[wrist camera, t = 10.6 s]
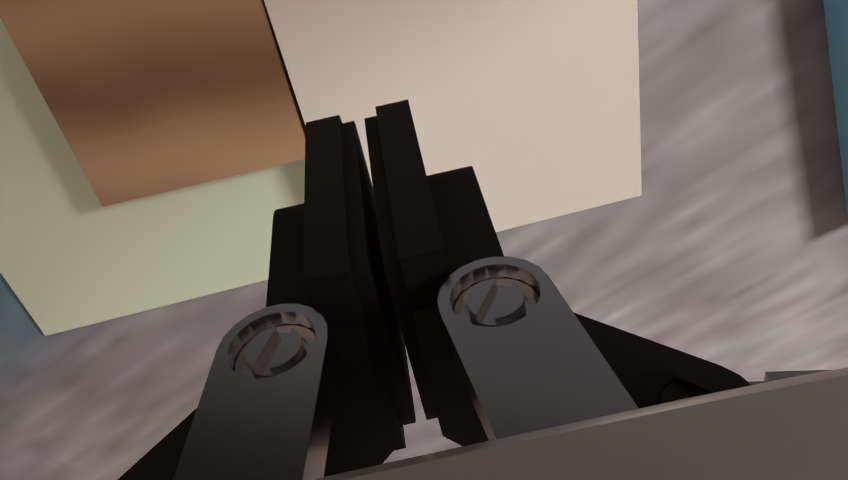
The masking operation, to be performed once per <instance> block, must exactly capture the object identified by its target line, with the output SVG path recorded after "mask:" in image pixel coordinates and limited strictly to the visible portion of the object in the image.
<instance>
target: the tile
mask: <svg viewBox="0 0 848 480" xmlns="http://www.w3.org/2000/svg"><path fill="white" fill-rule="evenodd" d="M0 18H1V20H2V22H3V24H4V26H5V27H6V29H7V31H8V33H9V35H10V37H11V39H12V40H13V42H14V44H15V46H16V48H17V50H18V51H19V53H20V55H21V57H22V59H23V61H24V63H25V64H26V66H27V68H28V70H29V72H30V74H31V76H32V77H33V79H34V81H35V83H36V85H37V87H38V88H39V90H40V92H41V94H42V96H43V98H44V100H45V101H46V103H47V105H48V107H49V109H50V111H51V112H52V114H53V116H54V118H55V120H56V122H57V124H58V125H59V127H60V129H61V131H62V133H63V135H64V137H65V138H66V140H67V142H68V144H69V146H70V148H71V149H72V151H73V153H74V155H75V157H76V159H77V161H78V162H79V164H80V166H81V168H82V170H83V172H84V174H85V175H86V177H87V179H88V181H89V183H90V185H91V186H92V188H93V190H94V192H95V194H96V196H97V198H98V199H99V201H100V203H101V205H102V207H104V206H109V205H113V204H117V203H121V202H125V201H130V200H134V199H138V198H142V197H146V196H151V195H155V194H159V193H163V192H168V191H172V190H176V189H180V188H184V187H189V186H193V185H197V184H201V183H205V182H210V181H214V180H218V179H222V178H227V177H231V176H235V175H239V174H243V173H248V172H252V171H256V170H260V169H264V168H269V167H273V166H277V165H281V164H286V163H290V162H294V161H298V160H302V159H305V123H304V120H303V117H302V114H301V111H300V108H299V105H298V102H297V99H296V96H295V93H294V90H293V87H292V84H291V81H290V78H289V75H288V71H287V68H286V65H285V62H284V59H283V56H282V53H281V50H280V47H279V44H278V41H277V38H276V35H275V32H274V29H273V26H272V23H271V20H270V17H269V14H268V11H267V8H266V5H265V2H264V0H0Z"/></svg>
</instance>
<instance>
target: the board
mask: <svg viewBox="0 0 848 480" xmlns="http://www.w3.org/2000/svg"><path fill="white" fill-rule="evenodd" d="M264 2H265V5H266V8H267V11H268V14H269V17H270V20H271V23H272V26H273V29H274V32H275V35H276V38H277V41H278V44H279V47H280V50H281V53H282V56H283V59H284V62H285V65H286V68H287V71H288V75H289V78H290V81H291V84H292V87H293V90H294V93H295V96H296V99H297V102H298V105H299V108H300V111H301V114H302V117H303V120H304V123H305V125H306V122H310V121H314V120H319V119H323V118H328V117H332V116H336V115H339V116H340V117H341V120H342V123H346V122H351V121H354V122H355V124H356V128H357V131H358V135H359V138H360V142H361V146H362V150H363V153H364V157H365V161H366V164H367V168H368V172H369V175H370V179H371V183H372V177H371V169H370V161H369V153H368V145H367V137H366V129H365V121H364V118H369V117H373V116H377V115H376V109H375V107H376V106H381V105H385V104H390V103H394V102H399V101H403V100H407V99H408V102H409V106H410V110H411V114H412V118H413V122H414V126H415V130H416V134H417V139H418V143H419V147H420V151H421V155H422V159H423V163H424V167H425V172H426V176H428V175H432V174H437V173H441V172H445V171H450V170H454V169H459V168H463V167H468V166H472V167H473V169H474V172H475V175H476V178H477V180H478V183H479V186H480V189H481V192H482V195H483V198H484V201H485V203H486V206H487V209H488V212H489V215H490V218H491V221H492V224H493V226H494V229H495V232H499V231H502V230H506V229H510V228H514V227H518V226H522V225H526V224H530V223H534V222H538V221H542V220H546V219H550V218H554V217H558V216H562V215H566V214H570V213H573V212H577V211H581V210H585V209H589V208H593V207H597V206H601V205H605V204H609V203H613V202H617V201H621V200H625V199H629V198H633V197H637V196H641V195H642V189H641V145H640V101H639V57H638V13H637V0H264ZM372 186H373V185H372Z"/></svg>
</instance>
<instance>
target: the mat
mask: <svg viewBox="0 0 848 480" xmlns="http://www.w3.org/2000/svg"><path fill="white" fill-rule="evenodd" d="M304 185H305V159H302V160H298V161H294V162H290V163H286V164H281V165H277V166H273V167H269V168H264V169H260V170H256V171H252V172H248V173H243V174H239V175H235V176H231V177H227V178H222V179H218V180H214V181H210V182H205V183H201V184H197V185H193V186H189V187H184V188H180V189H176V190H172V191H168V192H163V193H159V194H155V195H151V196H146V197H142V198H138V199H134V200H130V201H125V202H121V203H117V204H113V205H109V206H104V207H102V205H101V203H100V201H99V199H98V198H97V196H96V194H95V192H94V190H93V188H92V186H91V185H90V183H89V181H88V179H87V177H86V175H85V174H84V172H83V170H82V168H81V166H80V164H79V162H78V161H77V159H76V157H75V155H74V153H73V151H72V149H71V148H70V146H69V144H68V142H67V140H66V138H65V137H64V135H63V133H62V131H61V129H60V127H59V125H58V124H57V122H56V120H55V118H54V116H53V114H52V112H51V111H50V109H49V107H48V105H47V103H46V101H45V100H44V98H43V96H42V94H41V92H40V90H39V88H38V87H37V85H36V83H35V81H34V79H33V77H32V76H31V74H30V72H29V70H28V68H27V66H26V64H25V63H24V61H23V59H22V57H21V55H20V53H19V51H18V50H17V48H16V46H15V44H14V42H13V40H12V39H11V37H10V35H9V33H8V31H7V29H6V27H5V26H4V24H3V22H2V20H1V18H0V273H1V274H2V276H3V277H4V279H5V280H6V281H7V283H8V284H9V286H10V287H11V288H12V290H13V291H14V293H15V294H16V295H17V297H18V298H19V300H20V301H21V302H22V304H23V305H24V307H25V308H26V310H27V311H28V312H29V314H30V315H31V317H32V318H33V319H34V321H35V322H36V324H37V325H38V326H39V328H40V329H41V331H42V332H43V333H44V335H45V336H47V335H51V334H55V333H59V332H63V331H67V330H71V329H75V328H78V327H82V326H86V325H90V324H94V323H98V322H102V321H106V320H110V319H114V318H118V317H122V316H126V315H130V314H134V313H138V312H142V311H146V310H150V309H153V308H157V307H161V306H165V305H169V304H173V303H177V302H181V301H185V300H189V299H193V298H197V297H201V296H205V295H209V294H213V293H217V292H221V291H225V290H228V289H232V288H236V287H240V286H244V285H248V284H252V283H256V282H260V281H264V280H268V277H269V263H270V250H271V237H272V224H273V215H274V211H275V210H276V209H280V208H285V207H289V206H294V205H298V204H303V203H304Z"/></svg>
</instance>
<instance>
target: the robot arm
mask: <svg viewBox="0 0 848 480" xmlns="http://www.w3.org/2000/svg"><path fill="white" fill-rule="evenodd" d="M375 109H376V115H377V116H373V117H369V118H364V121H365V129H366V137H367V145H368V153H369V161H370V169H371V177H372V183H371V179H370V175H369V172H368V168H367V164H366V161H365V157H364V153H363V150H362V146H361V142H360V138H359V135H358V131H357V128H356V124H355V122H354V121H351V122H346V123H342V120H341V117H340V116H339V115H336V116H332V117H328V118H323V119H319V120H314V121H310V122H306V125H305V185H304V203H303V204H298V205H294V206H289V207H285V208H280V209H276V210H275V211H274V215H273V224H272V237H271V250H270V263H269V277H268V290H267V303H266V307H265V308H263V309H261V310H258V311H256V312H254V313H252V314H249V315H248V316H246V317H245V318H244V319H242V320H241V321H239V322H238V323H236V324H235V325H234V326H233V327H232V328H231V329H230V330H229V331H228V332H227V334H226V335H225V336H224V337H223V339H222V341H221V343H220V345H219V346H218V348H217V350H216V353H215V356H214V359H213V362H212V365H211V368H210V371H209V374H208V377H207V380H206V383H205V386H204V389H203V392H202V395H201V398H200V401H199V404H198V407H197V408H196V409H195V410H194V411H193V412H192V413H191V414H190V415H189V416H188V417H186V418H185V419H184V420H183V421H182V422H181V423H180V424H179V425H178V426H177V427H175V428H174V429H173V430H172V431H171V432H170V433H169V434H168V435H167V436H165V437H164V438H163V439H162V440H161V441H160V442H159V443H158V444H157V445H156V446H154V447H153V448H152V449H151V450H150V451H149V452H148V453H147V454H146V455H144V456H143V457H142V458H141V459H140V460H139V461H138V462H137V463H136V464H134V465H133V466H132V467H131V468H130V469H129V470H128V471H127V472H126V473H125V474H123V475H122V476H121V477H120V478H119V479H118V480H848V368H842V369H836V370H813V371H779V372H765V378H764V381H758V382H747V381H746V380H745V379H744V378H742V377H741V376H740V375H739V374H736V373H734V372H732V371H730V370H728V369H726V368H724V367H722V366H720V365H717V364H715V363H712V362H709V361H706V360H704V359H701V358H698V357H695V356H692V355H690V354H687V353H684V352H681V351H679V350H676V349H673V348H670V347H667V346H665V345H662V344H659V343H656V342H654V341H651V340H648V339H645V338H642V337H640V336H637V335H634V334H631V333H629V332H626V331H623V330H620V329H618V328H615V327H612V326H609V325H606V324H604V323H601V322H598V321H595V320H593V319H590V318H587V317H584V316H581V315H579V314H576V313H573V311H572V310H571V308H570V307H569V305H568V304H567V302H566V301H565V300H564V298H563V297H562V295H561V294H560V292H559V291H558V289H557V288H556V286H555V285H554V283H553V282H552V280H551V279H550V278H549V276H548V275H547V274H546V273H545V272H544V271H543V270H542V269H541V268H540V267H539V266H537V265H535V264H533V263H531V262H529V261H527V260H524V259H519V258H514V257H504V255H503V252H502V249H501V247H500V244H499V241H498V238H497V235H496V232H495V229H494V226H493V224H492V221H491V218H490V215H489V212H488V209H487V206H486V203H485V201H484V198H483V195H482V192H481V189H480V186H479V183H478V180H477V178H476V175H475V172H474V169H473V167H472V166H468V167H463V168H459V169H454V170H450V171H445V172H441V173H437V174H432V175H428V176H426V172H425V167H424V163H423V159H422V155H421V151H420V147H419V143H418V139H417V134H416V130H415V126H414V122H413V118H412V114H411V110H410V106H409V102H408V99H407V100H403V101H399V102H394V103H390V104H385V105H381V106H376V107H375ZM372 185H373V186H372ZM405 345H406V349H407V352H408V356H409V359H410V363H411V366H412V370H413V373H414V377H415V380H416V384H417V387H418V391H419V394H420V398H421V401H422V405H423V408H424V412H425V415H426V419H427V420H429V419H433V418H438V420H439V423H440V427H441V431H442V435H443V436H444V437H446V438H447V439H450V440H452V441H454V442H456V443H458V444H459V445H461V446H463V447H458V448H454V449H449V450H445V451H440V452H436V453H431V454H426V455H422V456H417V457H413V458H408V459H404V460H399V461H395V462H390V463H385V464H382V463H383V462H384V461H385V460H386V459H387V458H388V456H389V455H390V454H391V453H392V452H393V451H394V450H398V449H403V448H406V445H405V437H404V429H403V425H406V424H411V423H415V422H416V419H415V411H414V404H413V397H412V390H411V383H410V376H409V370H408V363H407V356H406V349H405Z"/></svg>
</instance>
